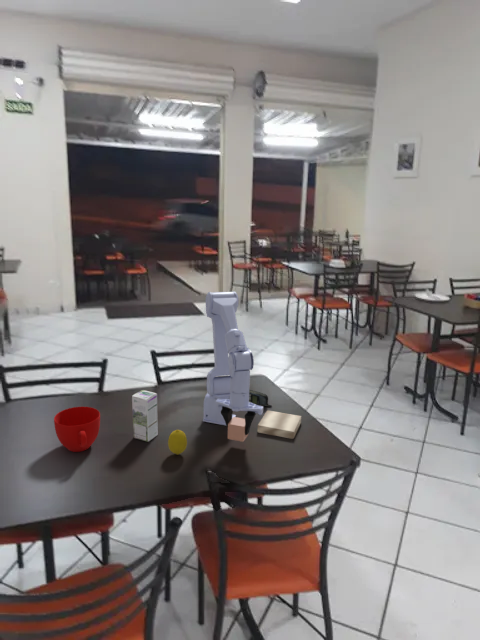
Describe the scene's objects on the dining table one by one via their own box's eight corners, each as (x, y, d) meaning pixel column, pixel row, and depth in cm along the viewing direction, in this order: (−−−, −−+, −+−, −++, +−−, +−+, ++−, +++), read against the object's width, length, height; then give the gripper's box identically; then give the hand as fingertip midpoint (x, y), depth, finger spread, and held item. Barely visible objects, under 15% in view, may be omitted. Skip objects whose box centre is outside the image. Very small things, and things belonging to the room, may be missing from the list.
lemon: (183, 460, 137) (183, 435, 135) (165, 458, 138) (165, 433, 136) (189, 451, 143) (189, 426, 141) (171, 448, 144) (171, 424, 142)
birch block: (257, 433, 155) (257, 425, 155) (266, 418, 166) (267, 410, 166) (293, 440, 152) (294, 431, 151) (300, 424, 163) (301, 416, 162)
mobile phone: (233, 388, 178) (269, 396, 171) (237, 385, 181) (273, 393, 174) (233, 400, 179) (269, 409, 172) (237, 398, 182) (272, 406, 175)
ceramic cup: (61, 468, 131) (58, 436, 129) (53, 440, 146) (51, 410, 143) (108, 458, 137) (107, 426, 135) (96, 432, 152) (95, 403, 149)
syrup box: (158, 434, 152) (158, 392, 148) (147, 442, 146) (146, 399, 143) (143, 430, 154) (142, 388, 150) (132, 438, 149) (131, 395, 145)
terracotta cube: (227, 438, 144) (228, 423, 142) (233, 431, 148) (233, 416, 147) (243, 441, 142) (243, 426, 141) (248, 434, 147) (248, 419, 146)
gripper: (212, 391, 140) (211, 433, 143) (259, 399, 136) (257, 442, 139) (220, 382, 146) (219, 423, 150) (266, 390, 142) (263, 431, 145)
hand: (238, 431), depth 145 cm, fingers closed on terracotta cube, 5 cm apart
